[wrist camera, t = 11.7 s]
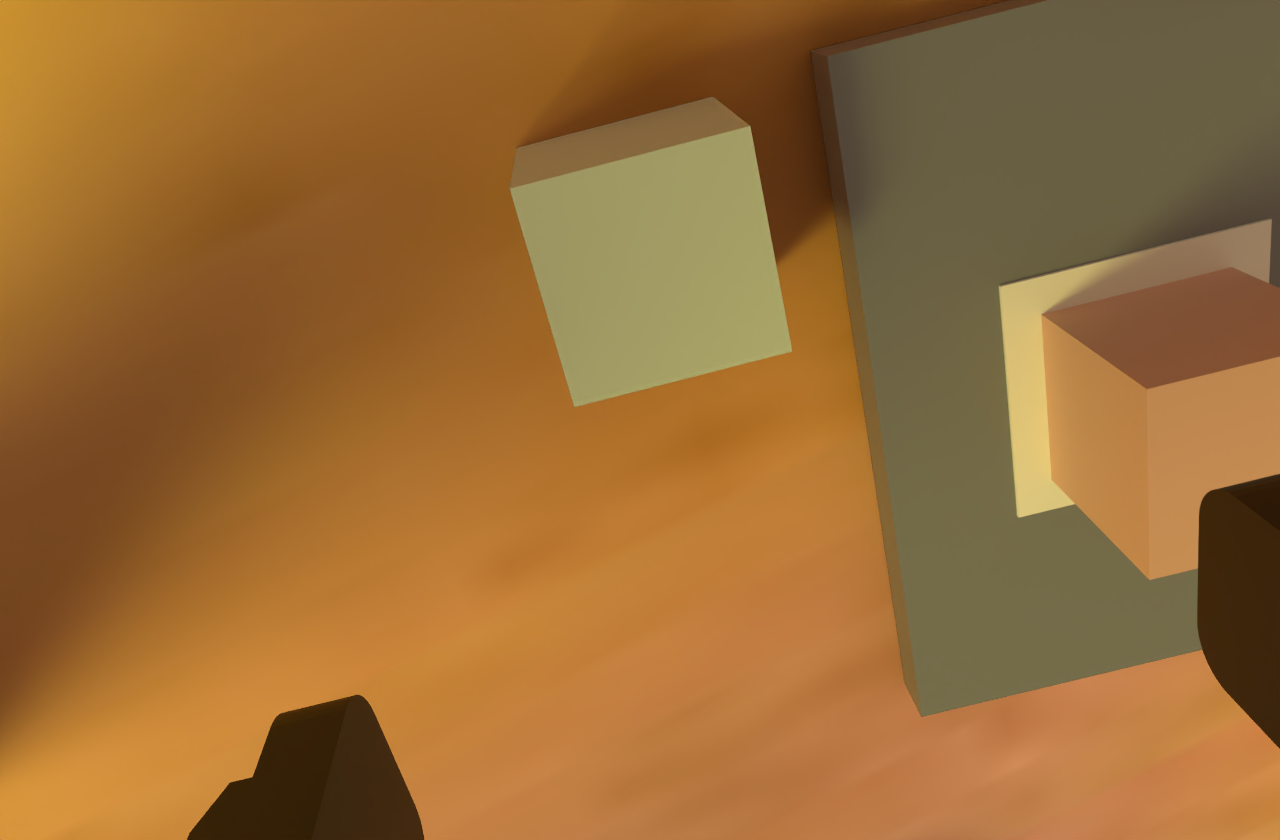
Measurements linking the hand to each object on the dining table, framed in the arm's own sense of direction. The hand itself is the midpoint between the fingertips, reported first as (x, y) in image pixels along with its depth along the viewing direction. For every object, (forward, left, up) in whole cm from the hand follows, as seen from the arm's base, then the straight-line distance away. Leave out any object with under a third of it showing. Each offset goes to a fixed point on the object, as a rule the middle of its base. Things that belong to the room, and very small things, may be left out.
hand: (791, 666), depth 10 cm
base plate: (+12, -7, -18) cm, 22 cm away
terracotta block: (+12, -7, -16) cm, 21 cm away
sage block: (0, 0, -18) cm, 18 cm away
